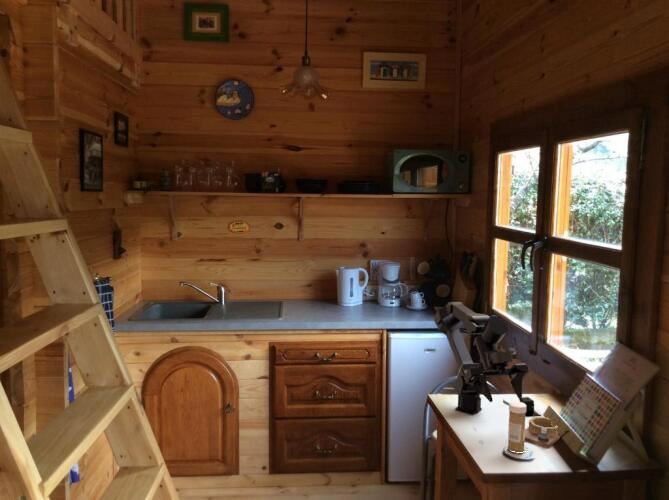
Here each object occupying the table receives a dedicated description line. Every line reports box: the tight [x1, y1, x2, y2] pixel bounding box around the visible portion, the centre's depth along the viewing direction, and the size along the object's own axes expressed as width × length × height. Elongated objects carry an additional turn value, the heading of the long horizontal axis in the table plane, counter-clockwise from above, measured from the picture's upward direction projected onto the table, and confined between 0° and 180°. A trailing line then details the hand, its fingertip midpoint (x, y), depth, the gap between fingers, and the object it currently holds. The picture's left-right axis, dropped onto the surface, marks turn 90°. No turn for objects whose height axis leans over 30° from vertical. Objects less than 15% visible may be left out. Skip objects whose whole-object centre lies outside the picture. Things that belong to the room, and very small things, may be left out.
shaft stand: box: [524, 416, 560, 449], centre depth 165 cm, size 9×16×4 cm, turn 138°
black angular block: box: [519, 396, 542, 418], centre depth 182 cm, size 12×7×5 cm, turn 10°
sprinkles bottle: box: [507, 400, 526, 453], centre depth 154 cm, size 5×5×13 cm
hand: (506, 400), depth 159 cm, fingers open, 9 cm apart
